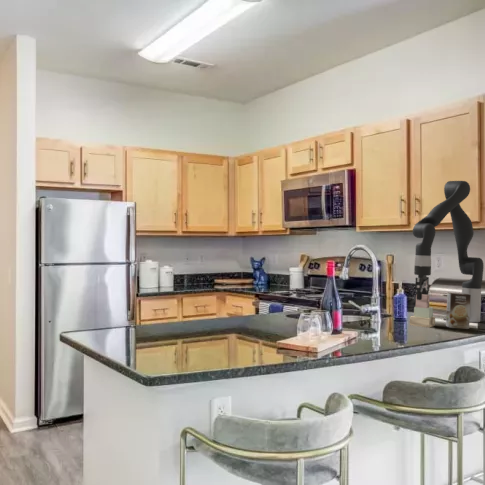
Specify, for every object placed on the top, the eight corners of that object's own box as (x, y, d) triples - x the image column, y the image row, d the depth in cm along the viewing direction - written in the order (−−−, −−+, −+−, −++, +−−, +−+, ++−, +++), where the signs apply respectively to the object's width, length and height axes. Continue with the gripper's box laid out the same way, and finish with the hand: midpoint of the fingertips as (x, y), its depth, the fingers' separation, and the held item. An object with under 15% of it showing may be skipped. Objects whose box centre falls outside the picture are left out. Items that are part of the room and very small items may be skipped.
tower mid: (418, 315, 262) (418, 306, 262) (432, 316, 258) (433, 307, 258) (413, 316, 256) (414, 307, 256) (428, 318, 252) (429, 308, 252)
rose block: (418, 306, 260) (418, 294, 260) (429, 307, 257) (429, 294, 257) (415, 307, 256) (415, 294, 256) (426, 308, 253) (426, 295, 253)
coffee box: (449, 327, 252) (450, 293, 252) (445, 326, 258) (446, 292, 258) (469, 329, 251) (470, 294, 251) (465, 327, 257) (466, 293, 257)
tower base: (416, 324, 263) (416, 315, 263) (434, 326, 257) (435, 317, 257) (409, 325, 256) (410, 316, 256) (428, 328, 250) (429, 318, 250)
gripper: (419, 264, 265) (417, 297, 265) (410, 264, 253) (409, 299, 253) (434, 265, 261) (433, 298, 261) (426, 265, 249) (425, 300, 249)
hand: (421, 299), depth 257 cm, fingers open, 8 cm apart
